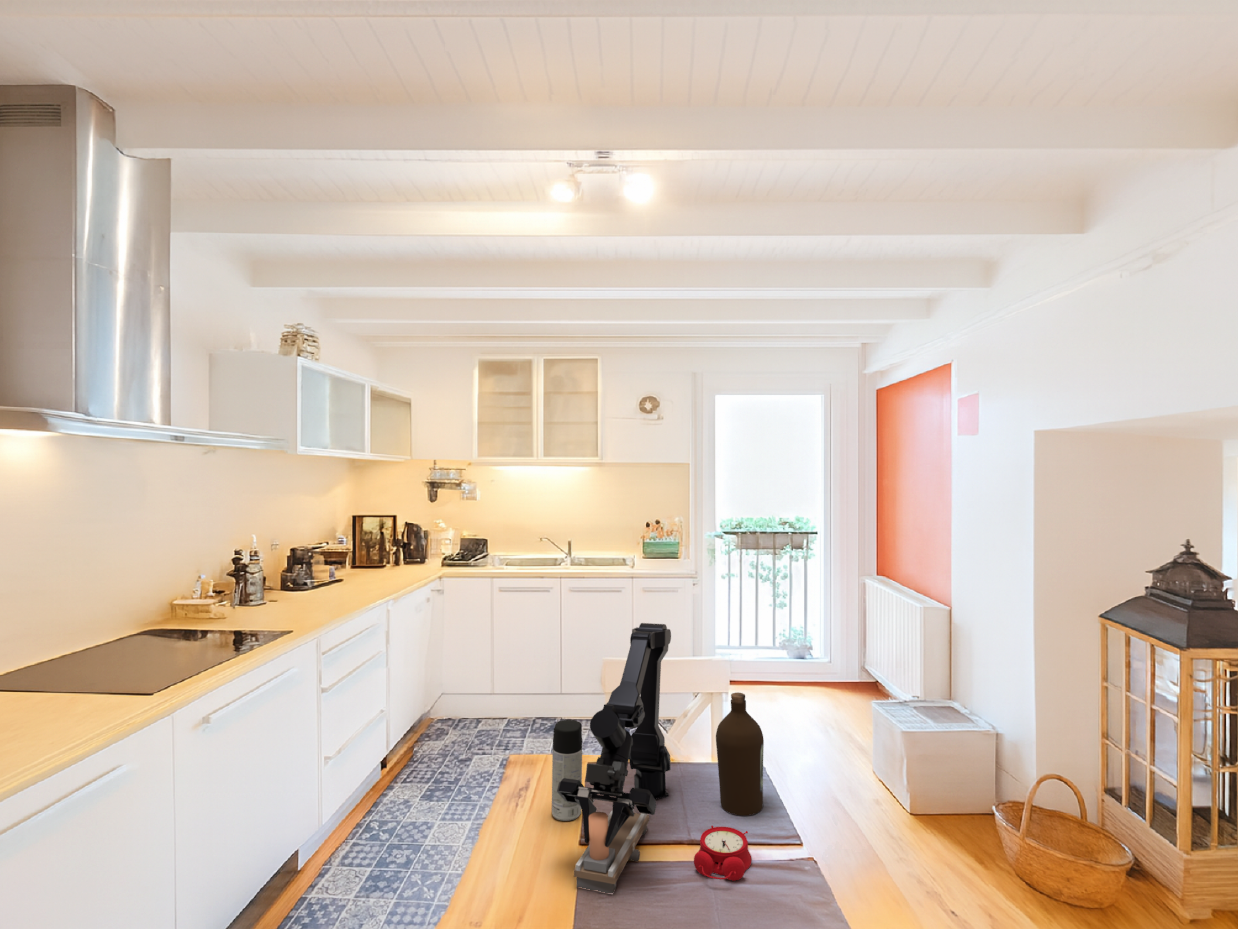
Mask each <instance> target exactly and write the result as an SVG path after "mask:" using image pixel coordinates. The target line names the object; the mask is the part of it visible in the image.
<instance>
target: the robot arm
mask: <svg viewBox="0 0 1238 929" xmlns="http://www.w3.org/2000/svg"><path fill="white" fill-rule="evenodd" d="M671 632H672V630H671V629H670V628H668V627H667V624H665V623H649V622H648V623H647V622H646V623H645V622H641V623H640V624H639V626H638V627H637V626H636V627H634V628H632V629H631V634H630V637H629V638H630V642H629V643H630V647H629V650H628V653H627V657H626V663H625V664H624V665H625V666H624V668H623V672H622V675H621V679H620V683H619V685H618V686H617V687H616V688H615V689H613V690H612V691H611V694H610V696H609V699H608V702H606V703H605V704H603V708H602V709H600V710H599V711H597V712H595V714H594V715H593V716H592V718H591V719H590V720H589V727H590V732H591V733H592V735H593V736H594V738H595V740H596V741H597V742H598V744H599V745H600V746H601V747H602V748H601V753H600V756H598V757H597V760H596V762H595V763H586V771H585V780H584V781H585V783H589V784H590V786H593V787H587V786H584V785H583V782H582V783H581V782H580V781H579V780H574V779H567V778H563V779H562V780H561V781H560V782H559V785H558V789H557V792H558V794H559V795H560V796H561V797H562V798H563V799H564V801H566V802H570V803H577V804H579V805H580V807H581V815H582V821H583V822H582V823H583V836H584V838H583V839H584V843H585V845H589V815H590V814H592V813H595V812H597V811H598V810H597V807H596V806H595V804H594V802H595V800H597V801H604V802H610V803H612V809H613V810H611V811H612V816H611V820H610V824H609V827H608V831H607V835H606V841H605V846H606V847H609V845H610V844H611V842H612V840H613V839H614V837H615V836H616V834H617V832H618V831H619V829H620V828H621V827H622V825H623V824H624V823H625V822H626V820H627V819H628V818H629V817H630V816H632V817H633V816H634V814H635V813H636V812H634V811H635V808H636V809H637V811H638V813H639V814H641V813H643V814H647V815H649V816H650V815H652V816H653V815H654V816H655V814H656V808H657V800H658V798H659V799H662V797H663V798H666V797H669V796H670V792H668V791H667V786H666V772H668V771H671V768H672V767H671V755H670V753H669V749H668V748H667V746H665V744H666V742H665V741H666V740H665V736H664V734H663V732H662V730H661V728H660V726H659V718H660V716H659V715H660V697H661V696H660V695H661V694H660V693H661V670H662V668H661V667H662V660H663V659H664V658H665V656H666V655H667V654H668V651H669V645H670V643H671V640H672V633H671ZM626 728H627V729H635V730H634V732H632V733H630V732H629V731H628V730H627V729H626ZM628 766H630V768H629V769H630V770H635V774H634V775H633V780H634V781H633V782H634V783H633V784H634V787H631V788H630V789H629V793H628V792H624V791H623V790H624V786H625V780H626V777H628V773H629V771H628Z"/></svg>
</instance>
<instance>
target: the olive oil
mask: <svg viewBox="0 0 1238 929" xmlns="http://www.w3.org/2000/svg"><path fill="white" fill-rule="evenodd" d="M730 698H731V700H730V709H731V710H730V711H729V713H728V714H727V715H725V717H724V718H722V720H721V721H720V722H719V724H718V726H717V727H716V728H717V729H716V733H715V744H716V755H717V758H716V759H717V767H718V768H717V770H718V781H719V782H718V784H719V799H720V807H721V808H722V809H723V810H724V811H725V812H727V813H728V814H732V815H734V816H741V817H748V816H753V815H756V814H758V813H760V812H761V811H762V809H763V807H764V792H763V791H764V747H765V746H764V745H765V744H764V743H765V742H764V734H763V731H762V728H761V726H760V725H759V723H758V722H757V721H756V720H755V719H754V718H753V717H752V716H751V715H750V714H749V713H748V712H747V701H746V694H745V693H743V692H732V693H731V694H730Z"/></svg>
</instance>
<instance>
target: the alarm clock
mask: <svg viewBox="0 0 1238 929" xmlns="http://www.w3.org/2000/svg"><path fill="white" fill-rule="evenodd" d="M746 834H749V832H748V831H747V830H746V831H745V832H744V833H743V832H742V831H741V830H739V829H736V828H734V827H729V826H715V827H714V825H711V827H710V828H709V829H706V830H705V831H703V832H702V833H701V836H700V839H699V844H700V846H699V850H698V851H697V852H696V853H695V854H694V856H693V865H694V868H695V870H696V871H697V872H698V873H699V874H700V875H701V874H702V876H704V877H708V878H709V879H714V880H729V881H731V880H732V882H735V881H736V880H737V881H739V880H742V878H743V877H744V875H745V871H747V870H748V869H749V868H750V867H751V864H752V855H751V853H750V851H749V841H748V839H747V837H746ZM715 873H716V874H715ZM712 874H715V875H719V876H724V877H716V876H712Z"/></svg>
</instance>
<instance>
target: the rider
mask: <svg viewBox="0 0 1238 929" xmlns="http://www.w3.org/2000/svg"><path fill="white" fill-rule="evenodd" d="M608 815H609V814H608V813H606V812H603V811H596V812H595V813H592V814H590V815H589V843H588V845H590V851H589V853H588V854H587V856H586V857H585V859H584V860H583V861H584V869H586V870H592V871H597V872H603V873H607V871H608V869H609V867H610V866H611V864H612V862H613V860H614V859H615V849H613V848H609V847H606V846H605V841H606V835H607V831H608Z"/></svg>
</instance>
